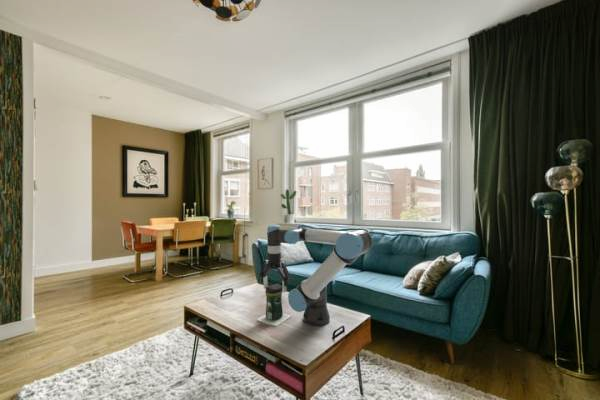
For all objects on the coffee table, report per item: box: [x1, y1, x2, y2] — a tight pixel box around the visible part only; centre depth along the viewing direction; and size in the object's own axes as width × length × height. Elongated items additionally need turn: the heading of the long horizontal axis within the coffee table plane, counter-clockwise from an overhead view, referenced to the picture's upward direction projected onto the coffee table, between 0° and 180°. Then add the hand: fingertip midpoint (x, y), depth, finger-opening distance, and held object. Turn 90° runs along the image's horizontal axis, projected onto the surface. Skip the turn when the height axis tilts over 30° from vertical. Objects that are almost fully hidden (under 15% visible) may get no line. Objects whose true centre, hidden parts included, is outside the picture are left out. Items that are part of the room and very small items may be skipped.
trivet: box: [256, 313, 292, 328], centre depth 156 cm, size 14×14×1 cm
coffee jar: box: [265, 283, 284, 320], centre depth 156 cm, size 10×8×19 cm
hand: (274, 289), depth 156 cm, fingers open, 13 cm apart
